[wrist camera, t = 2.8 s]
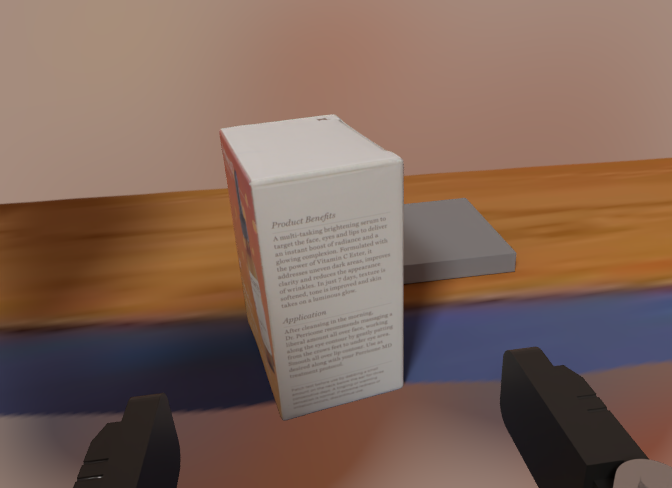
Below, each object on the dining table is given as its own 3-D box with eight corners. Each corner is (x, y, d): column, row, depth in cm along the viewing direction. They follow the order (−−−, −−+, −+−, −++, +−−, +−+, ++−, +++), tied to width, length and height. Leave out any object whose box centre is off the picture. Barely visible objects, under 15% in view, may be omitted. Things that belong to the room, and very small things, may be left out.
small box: (247, 323, 29) (216, 126, 25) (347, 300, 31) (335, 110, 26) (280, 427, 22) (245, 180, 18) (407, 391, 24) (405, 154, 19)
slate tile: (275, 298, 31) (273, 280, 31) (273, 233, 39) (271, 217, 39) (514, 271, 32) (516, 253, 32) (464, 213, 40) (465, 198, 40)
